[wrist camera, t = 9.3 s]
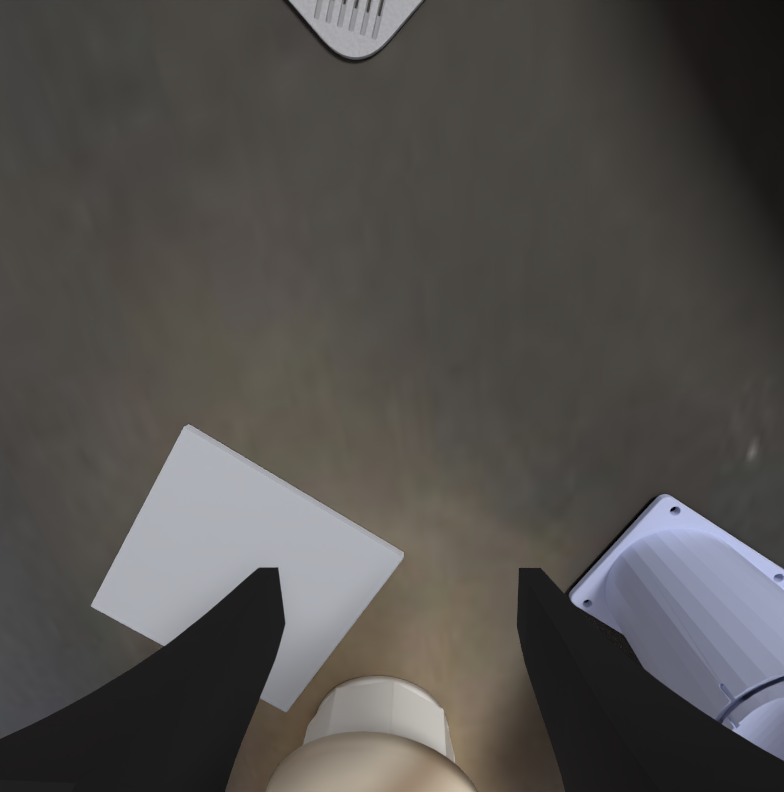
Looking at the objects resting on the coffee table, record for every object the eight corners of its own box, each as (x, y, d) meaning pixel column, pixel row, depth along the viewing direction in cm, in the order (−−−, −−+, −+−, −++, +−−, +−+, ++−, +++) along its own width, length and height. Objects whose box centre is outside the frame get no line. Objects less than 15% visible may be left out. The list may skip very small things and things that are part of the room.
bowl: (476, 718, 26) (488, 810, 22) (401, 797, 29) (398, 896, 24) (359, 652, 26) (346, 732, 21) (291, 738, 28) (266, 828, 23)
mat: (404, 552, 24) (403, 557, 23) (288, 705, 27) (286, 712, 27) (188, 424, 23) (183, 427, 22) (96, 600, 26) (90, 606, 26)
